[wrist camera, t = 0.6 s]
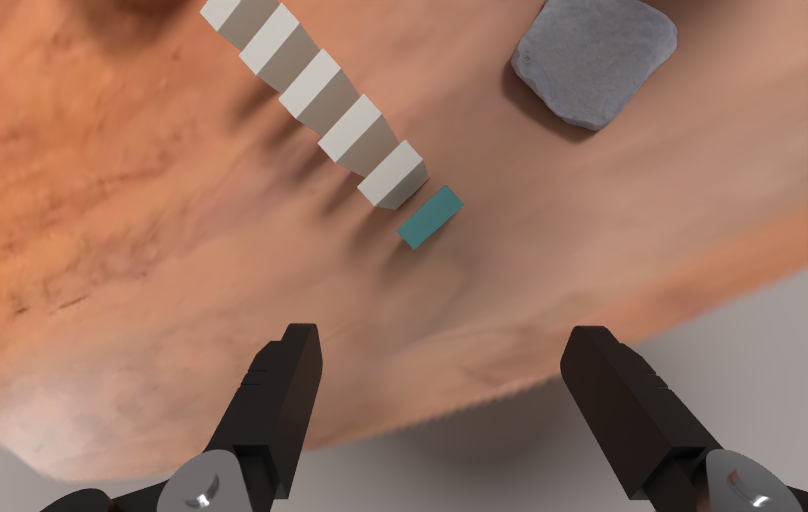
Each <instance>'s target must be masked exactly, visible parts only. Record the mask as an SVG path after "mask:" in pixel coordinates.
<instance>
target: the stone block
mask: <svg viewBox="0 0 808 512" xmlns="http://www.w3.org/2000/svg"><path fill="white" fill-rule="evenodd" d="M677 35H678V30H677V28H676V25H675V24H674V23H673V22H672V21H671V20H670V19H669V18H668V17H667V15H665V14H664V13H662V12H660V11H659V10H657V9H655V8H653V7H651V6H649V5H648V4H645V3H643V2H641V1H638V0H546V1H545V4H544V6H543V9H542V11H541V12H540V14H539V15H538V16H537V17H536V19H535V20H534V22H533V24H532V25H531V27H530V28H529V30H528V31H527V32H526V33H525V35H524V36H523V37H522V39H521V40H520V41H519V42H518V44H517V46H516V48H515V50H514V52H513V57H512V60H511V65H512V67H513V68H514V71H515V73H516V74H517V76H519V77H520V78H521V79H522V80H523V81H524V82H525V83H526V84H527V85H528V86H529V87H530V88H531V89H533V90H534V92H535V93H536V95H537V96H539V97H540V98H541V99H542V100H543V101H544V102H545V104H546V105H547V107H549V108H550V109H551V110H552V111H553V113H555V114H556V115H557V116H559V117H561V118H562V119H563V121H565V122H566V123H567V124H571V125H576V126H580V127H584V128H587V129H590V130H593V131H598V130H601V129H603V128H604V127H606V126H607V125H608V124H609V123H610V122H611V121H612V120H613V119H614V118H615V117H616V116H617V115H618V114H619V112H620V111H621V110H622V109H623V108H624V106H625V105H626V104H627V103H628V101H629V100H630V99H631V98H632V96H633V95H634V94H635V93H636V91H637V90H638V89H639V88H640V87H641V85H642V84H643V82H644V81H645V80H646V79H647V78H648V77H649V76H650V75H651V74H652V73H653V72H654V71H655V70H656V69H657V68H658V67H659V66H660V65H661V64H663V63H664V62H665V61H666V60H667V59H668V58H669V57H670V56H671V55H672V53H673V52H674V51H675V49H676V48H677V40H676V38H677Z"/></svg>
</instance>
